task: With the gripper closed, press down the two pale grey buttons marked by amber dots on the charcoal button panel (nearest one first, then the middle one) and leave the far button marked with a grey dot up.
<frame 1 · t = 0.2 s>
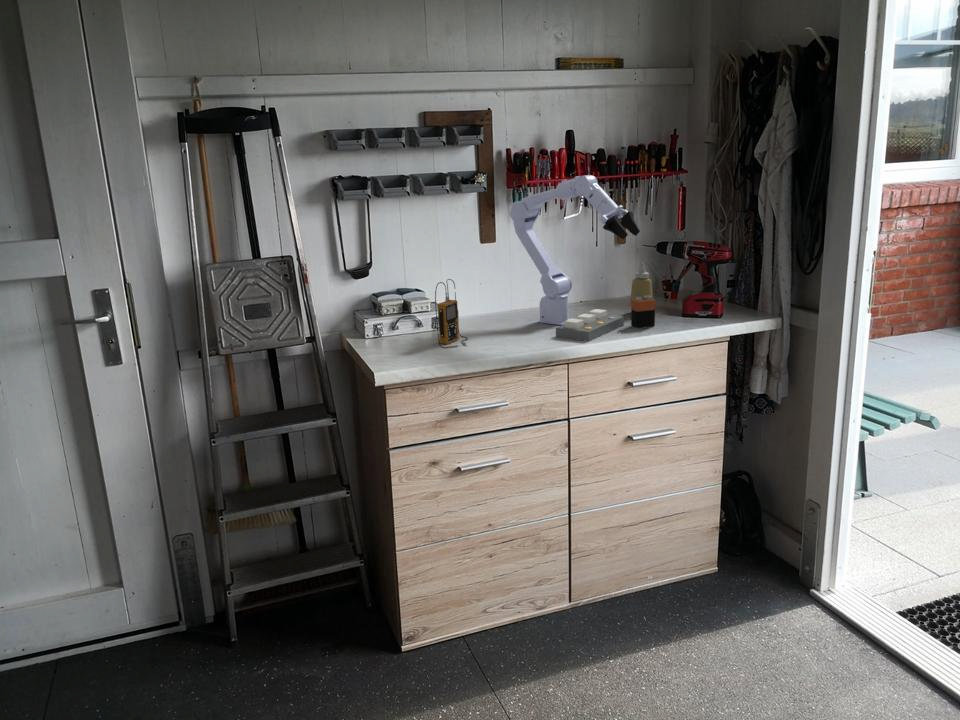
hand: (631, 235, 245), 31 cm above the worktop, tool tilted 45°, fingers open, 7 cm apart
battery: (642, 326, 260), on the worktop
button a: (574, 325, 250), point 4 cm above the worktop, slide at 0.0 cm
squeeze bottle: (641, 313, 279), on the worktop
button b: (586, 320, 256), point 4 cm above the worktop, slide at 0.0 cm
button c: (598, 315, 262), point 4 cm above the worktop, slide at 0.0 cm
button panel: (590, 330, 256), on the worktop
multimeter: (459, 343, 248), on the worktop
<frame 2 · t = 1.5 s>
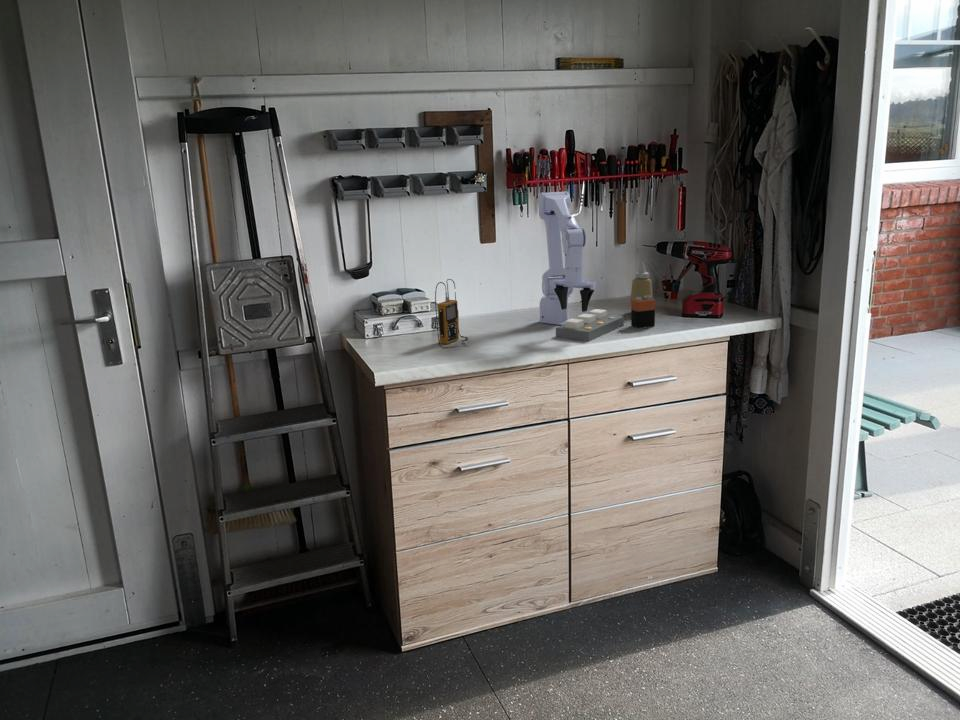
hand: (574, 310, 248), 8 cm above the worktop, tool pointing down, fingers open, 7 cm apart
nothing on the worktop moved.
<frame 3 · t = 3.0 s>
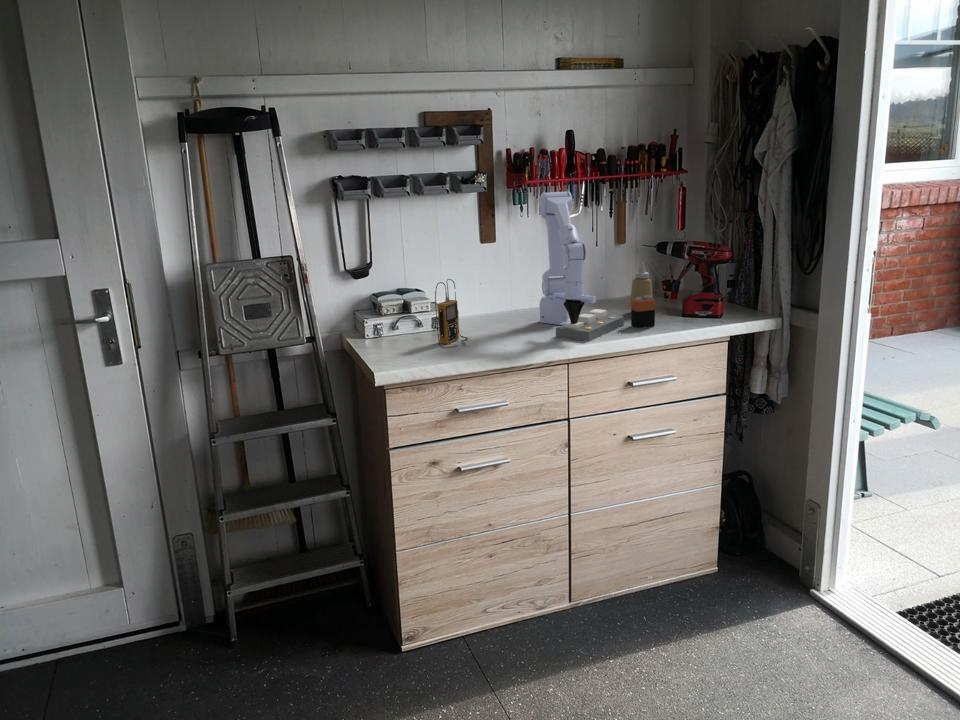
hand: (574, 323, 250), 4 cm above the worktop, tool pointing down, fingers closed, pressing on button a
button a: (574, 327, 250), point 3 cm above the worktop, slide at 0.8 cm, touching gripper
everything else where it was.
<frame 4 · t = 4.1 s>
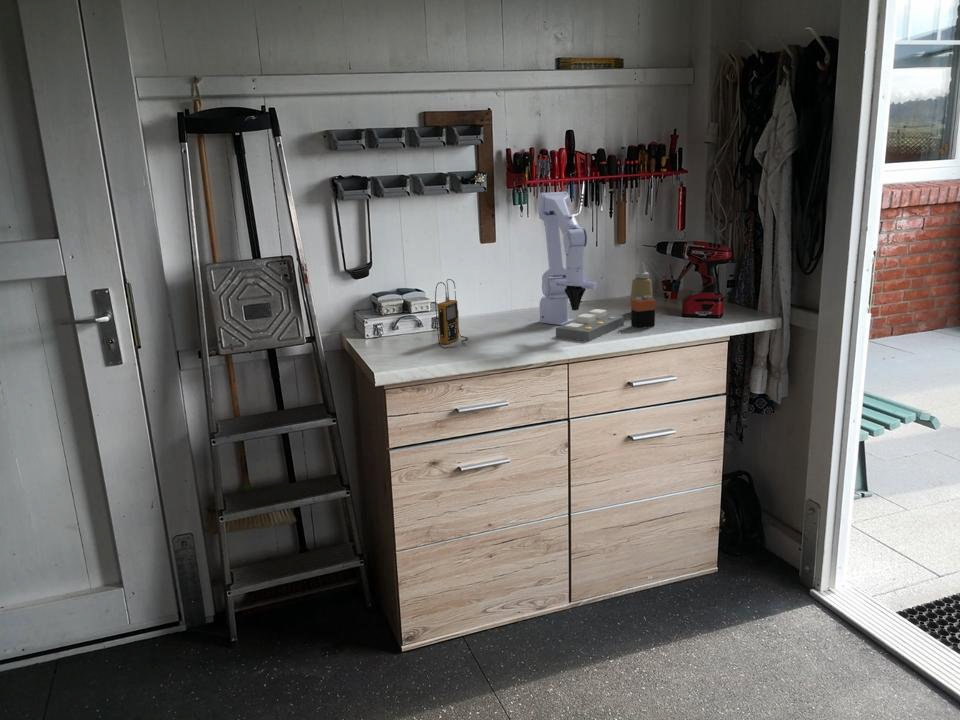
hand: (575, 309, 249), 8 cm above the worktop, tool pointing down, fingers closed
button a: (574, 329, 250), point 2 cm above the worktop, slide at 1.4 cm
everything else where it was.
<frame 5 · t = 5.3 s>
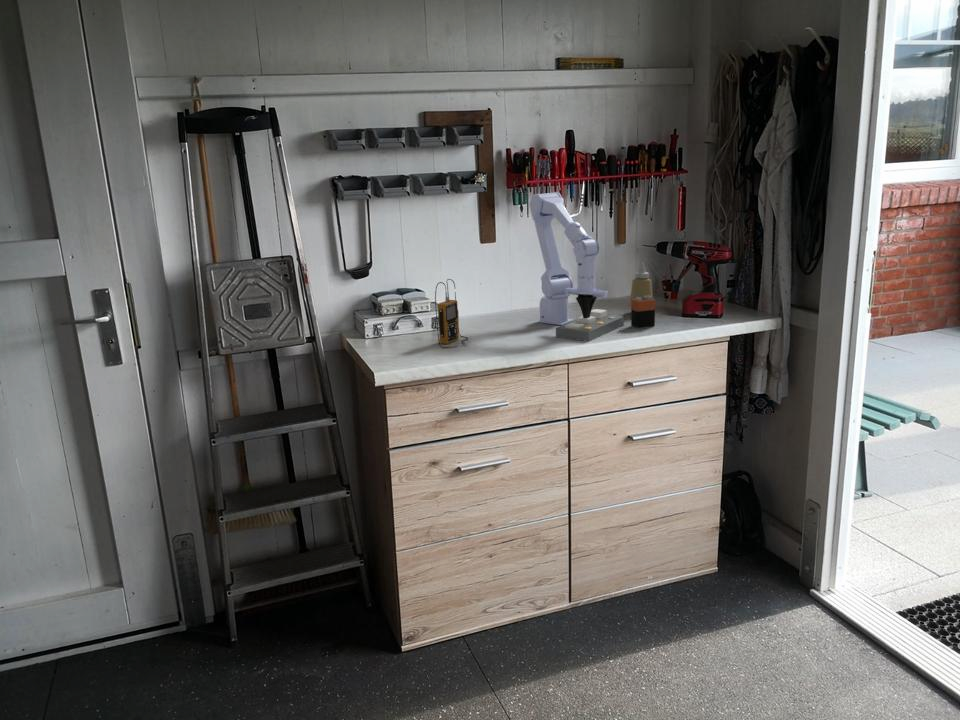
hand: (586, 317, 256), 4 cm above the worktop, tool pointing down, fingers closed, pressing on button b
button b: (586, 321, 256), point 3 cm above the worktop, slide at 0.6 cm, touching gripper
everything else where it was.
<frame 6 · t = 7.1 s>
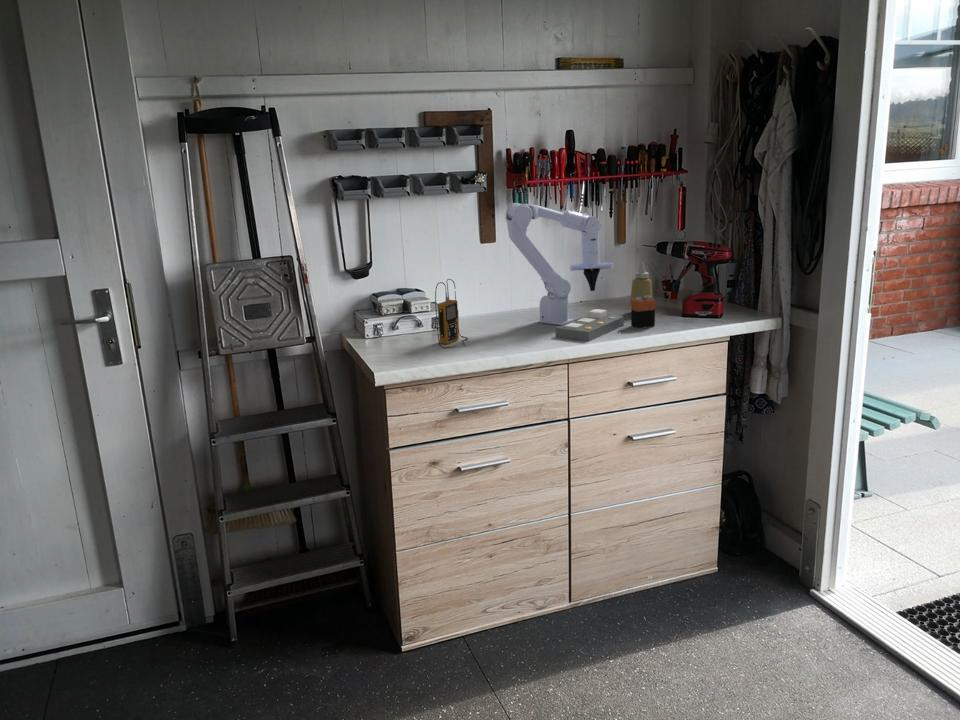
hand: (592, 290, 270), 10 cm above the worktop, tool pointing down, fingers closed
button b: (586, 324, 256), point 2 cm above the worktop, slide at 1.4 cm
everything else where it was.
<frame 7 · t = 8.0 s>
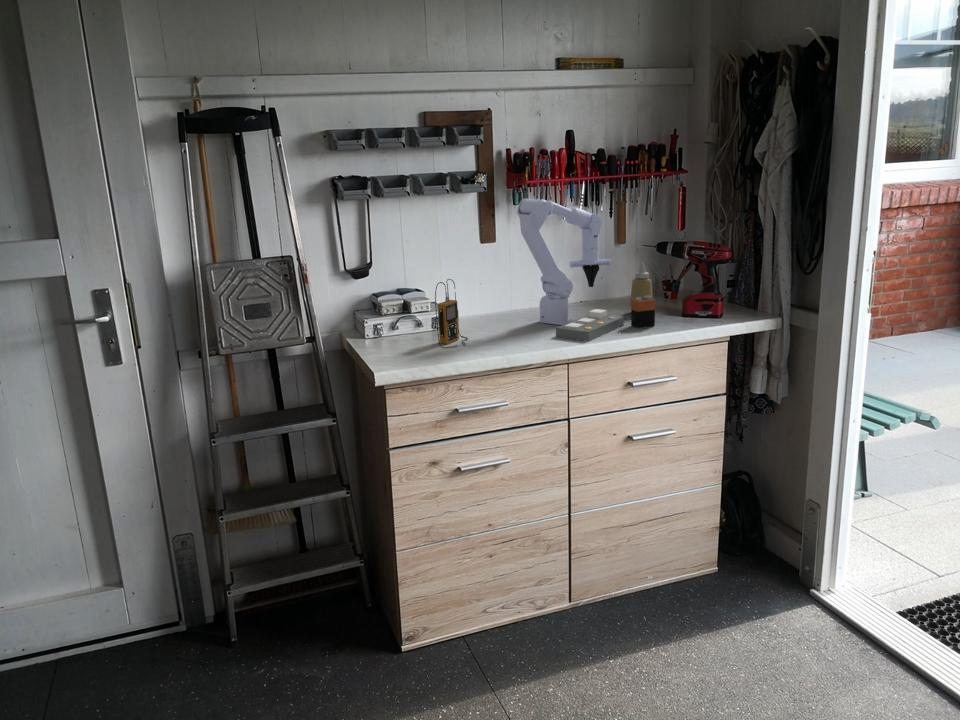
hand: (590, 286, 275), 10 cm above the worktop, tool pointing down, fingers closed
nothing on the worktop moved.
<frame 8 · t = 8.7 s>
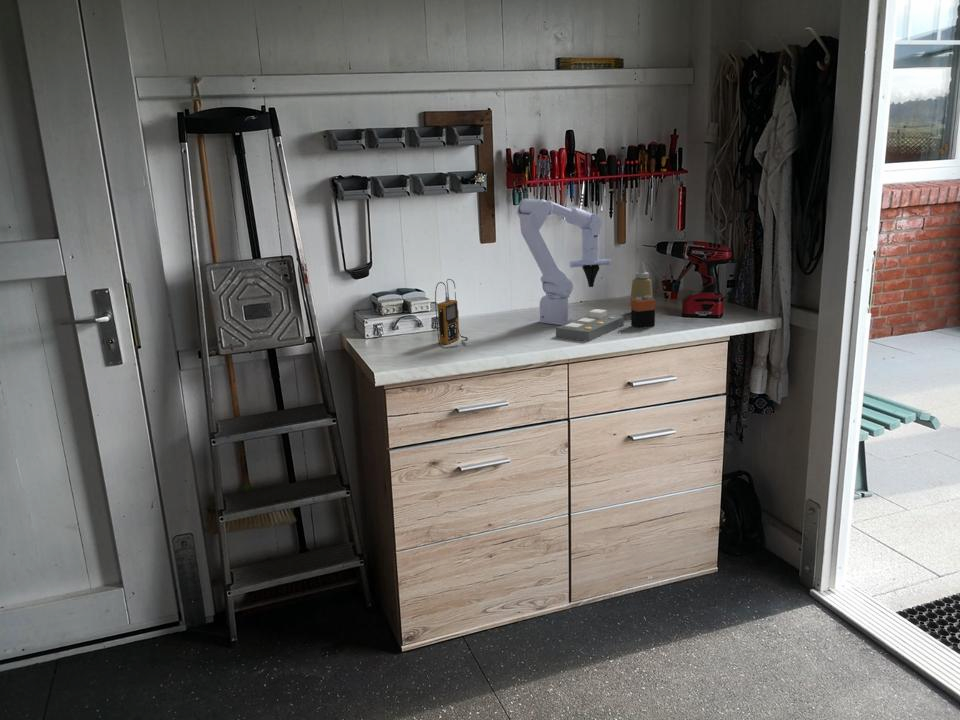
hand: (590, 286, 275), 10 cm above the worktop, tool pointing down, fingers closed
nothing on the worktop moved.
at the end: button a slide at 1.4 cm; button b slide at 1.4 cm; button c slide at 0.0 cm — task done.
